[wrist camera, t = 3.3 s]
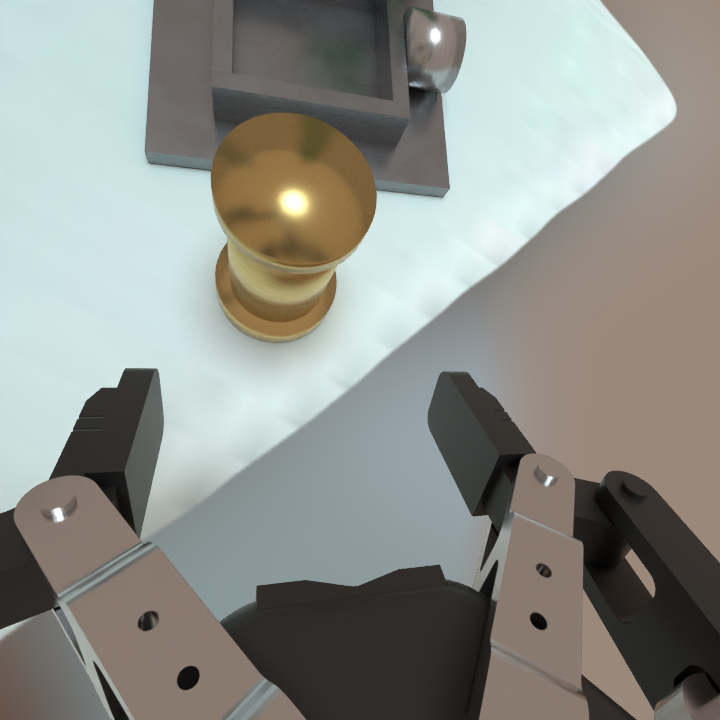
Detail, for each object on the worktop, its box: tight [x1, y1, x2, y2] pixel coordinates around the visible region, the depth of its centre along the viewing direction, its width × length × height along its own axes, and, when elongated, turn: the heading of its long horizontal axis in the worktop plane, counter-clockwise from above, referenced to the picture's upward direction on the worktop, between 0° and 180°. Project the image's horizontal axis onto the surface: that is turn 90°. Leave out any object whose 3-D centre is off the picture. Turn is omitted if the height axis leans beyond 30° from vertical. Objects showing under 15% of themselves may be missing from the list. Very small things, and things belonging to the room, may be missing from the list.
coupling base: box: [145, 0, 466, 197], centre depth 26 cm, size 18×16×5 cm
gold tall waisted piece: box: [211, 113, 377, 343], centre depth 20 cm, size 6×6×10 cm
